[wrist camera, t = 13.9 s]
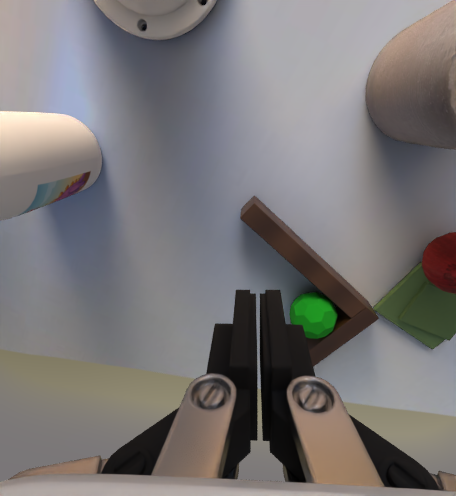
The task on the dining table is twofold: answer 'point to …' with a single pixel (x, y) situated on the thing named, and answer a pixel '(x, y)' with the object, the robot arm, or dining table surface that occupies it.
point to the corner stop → (313, 279)
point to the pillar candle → (417, 82)
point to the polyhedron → (314, 314)
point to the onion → (441, 262)
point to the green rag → (420, 309)
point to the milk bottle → (44, 160)
